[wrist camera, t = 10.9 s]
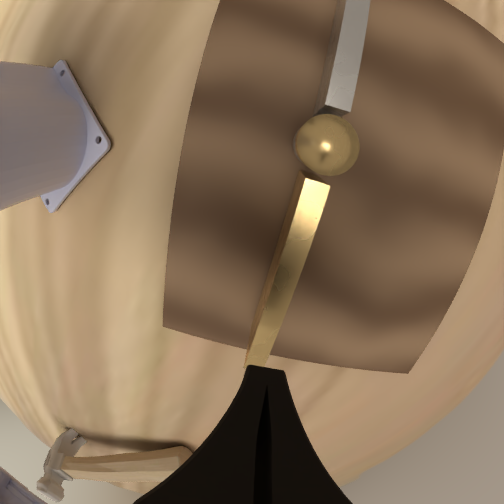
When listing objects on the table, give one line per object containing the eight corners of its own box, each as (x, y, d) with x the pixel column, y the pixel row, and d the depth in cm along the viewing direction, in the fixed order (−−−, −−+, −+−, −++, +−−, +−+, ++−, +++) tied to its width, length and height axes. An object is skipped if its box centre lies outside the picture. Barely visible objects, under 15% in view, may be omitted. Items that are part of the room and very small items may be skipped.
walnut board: (245, -53, 9) (243, -58, 8) (502, 49, 9) (508, 47, 8) (166, 320, 20) (162, 326, 19) (405, 367, 19) (407, 373, 19)
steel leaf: (329, -24, 9) (340, -62, 5) (368, -12, 9) (389, -46, 5) (287, 161, 14) (290, 166, 10) (331, 172, 14) (350, 183, 10)
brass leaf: (299, 117, 13) (306, 105, 9) (343, 131, 13) (366, 126, 9) (241, 321, 18) (231, 364, 14) (276, 330, 18) (274, 374, 14)
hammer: (176, 506, 18) (31, 487, 18) (199, 517, 19) (51, 501, 20) (183, 408, 33) (55, 428, 33) (199, 426, 34) (71, 442, 35)
